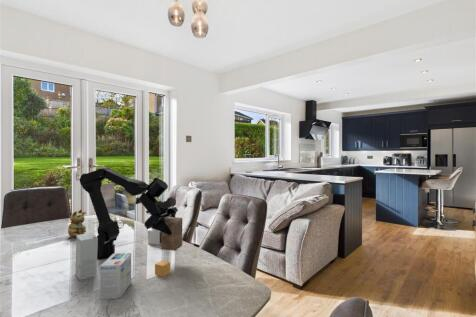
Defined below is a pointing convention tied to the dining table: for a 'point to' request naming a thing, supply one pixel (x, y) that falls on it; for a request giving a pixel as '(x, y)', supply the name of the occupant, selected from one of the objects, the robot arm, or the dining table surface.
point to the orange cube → (162, 268)
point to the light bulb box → (115, 275)
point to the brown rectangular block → (176, 237)
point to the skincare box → (86, 255)
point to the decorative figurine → (77, 224)
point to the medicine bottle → (154, 236)
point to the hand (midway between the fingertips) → (174, 232)
